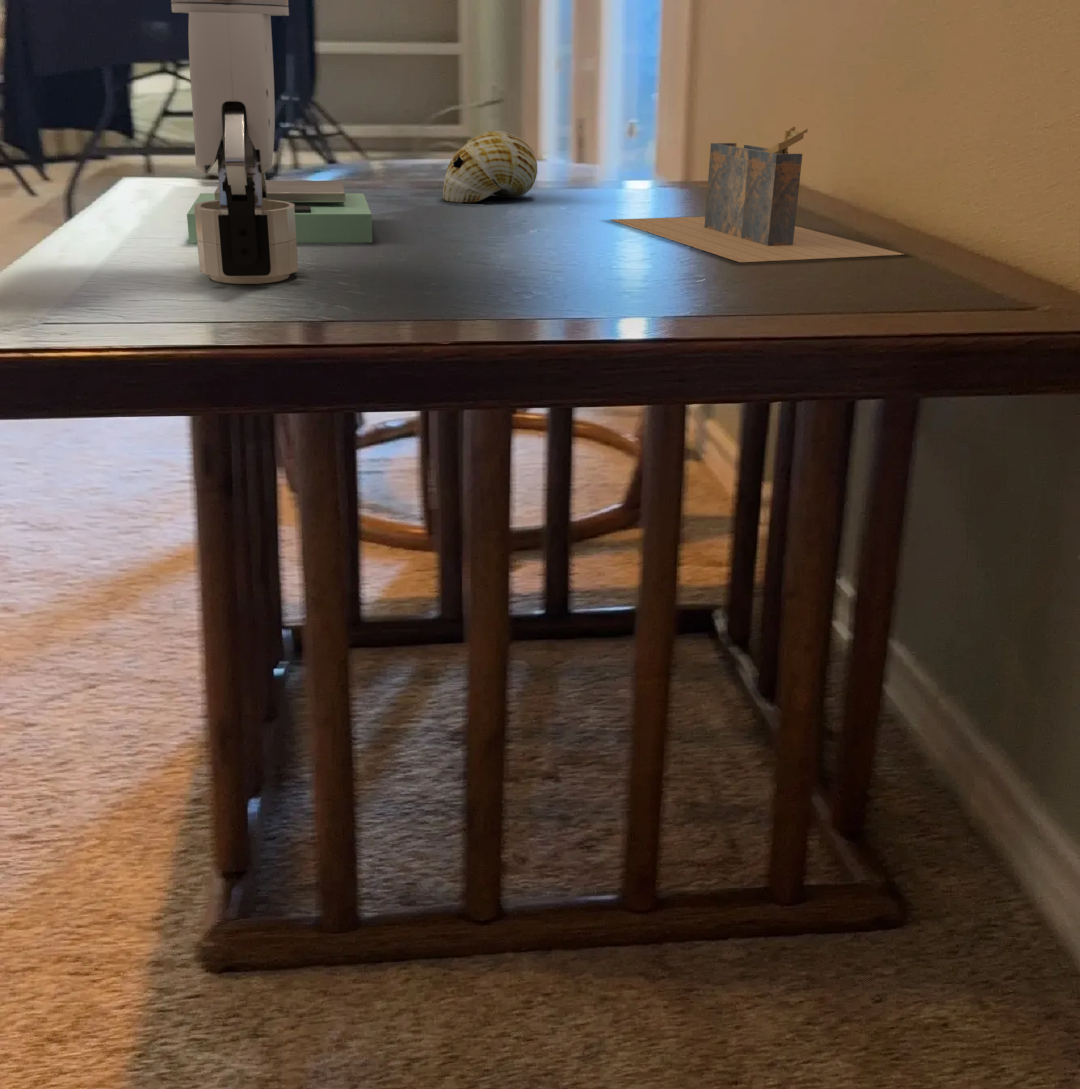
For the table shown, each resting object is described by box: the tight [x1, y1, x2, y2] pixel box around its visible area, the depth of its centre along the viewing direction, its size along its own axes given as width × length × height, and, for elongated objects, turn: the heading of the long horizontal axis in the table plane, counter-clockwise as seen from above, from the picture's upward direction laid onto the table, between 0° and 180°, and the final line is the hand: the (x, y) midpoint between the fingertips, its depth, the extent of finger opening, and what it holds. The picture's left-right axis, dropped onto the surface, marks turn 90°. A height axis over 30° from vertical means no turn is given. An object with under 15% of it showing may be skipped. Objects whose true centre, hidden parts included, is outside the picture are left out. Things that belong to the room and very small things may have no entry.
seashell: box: [442, 130, 538, 204], centre depth 128 cm, size 10×10×10 cm
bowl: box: [194, 199, 299, 285], centre depth 83 cm, size 7×7×5 cm
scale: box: [186, 192, 373, 245], centre depth 104 cm, size 15×14×3 cm
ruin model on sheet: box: [612, 126, 905, 263], centre depth 106 cm, size 25×16×10 cm, turn 22°
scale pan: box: [213, 180, 346, 202], centre depth 105 cm, size 11×9×1 cm
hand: (249, 263), depth 84 cm, fingers closed on bowl, 6 cm apart
